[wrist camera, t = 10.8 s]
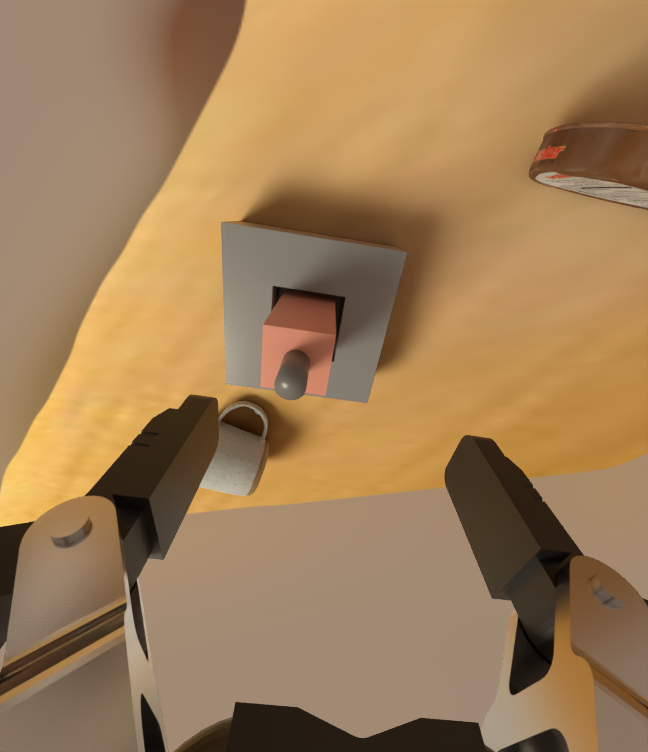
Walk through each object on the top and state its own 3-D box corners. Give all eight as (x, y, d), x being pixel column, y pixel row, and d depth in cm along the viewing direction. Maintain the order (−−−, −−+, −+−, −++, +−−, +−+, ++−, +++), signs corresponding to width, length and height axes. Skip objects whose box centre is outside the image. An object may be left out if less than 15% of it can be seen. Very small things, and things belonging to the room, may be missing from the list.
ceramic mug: (259, 466, 40) (245, 515, 33) (202, 448, 39) (175, 496, 32) (284, 409, 35) (274, 453, 29) (220, 387, 34) (193, 427, 27)
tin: (694, 180, 23) (864, 164, 16) (664, 224, 25) (806, 227, 17) (521, 135, 22) (616, 95, 15) (501, 184, 23) (577, 169, 16)
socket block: (240, 220, 25) (221, 221, 21) (394, 246, 26) (407, 252, 21) (240, 361, 32) (225, 383, 28) (362, 378, 33) (367, 403, 28)
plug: (287, 286, 27) (250, 343, 15) (334, 293, 27) (336, 356, 15) (284, 330, 29) (249, 413, 17) (327, 337, 29) (324, 423, 17)
